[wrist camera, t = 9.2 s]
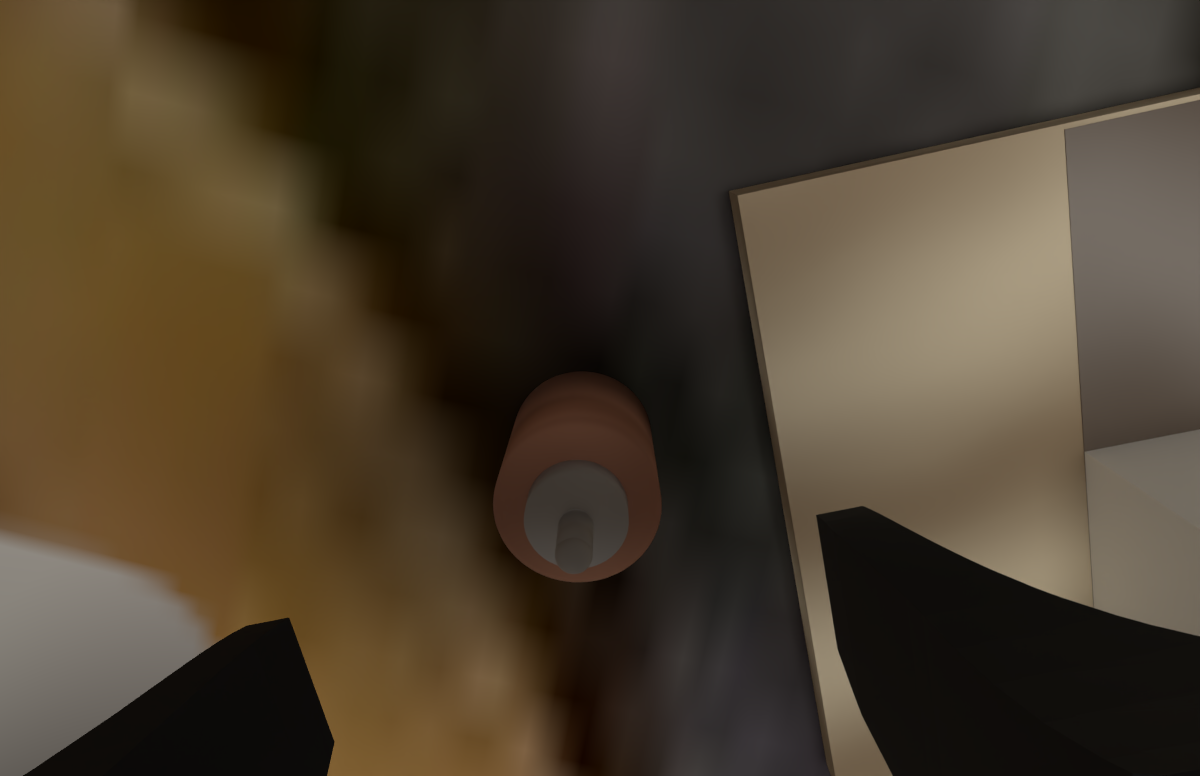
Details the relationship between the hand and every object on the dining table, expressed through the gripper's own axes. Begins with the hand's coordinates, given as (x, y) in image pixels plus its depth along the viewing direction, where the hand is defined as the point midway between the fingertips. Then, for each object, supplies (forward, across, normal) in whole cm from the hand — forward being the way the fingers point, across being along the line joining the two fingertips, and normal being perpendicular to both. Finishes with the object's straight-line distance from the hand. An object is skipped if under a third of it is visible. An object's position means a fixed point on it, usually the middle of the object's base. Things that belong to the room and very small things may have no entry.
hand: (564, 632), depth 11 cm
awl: (+8, 0, 0) cm, 8 cm away
